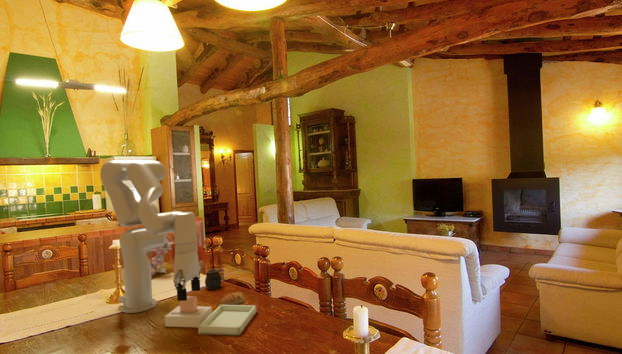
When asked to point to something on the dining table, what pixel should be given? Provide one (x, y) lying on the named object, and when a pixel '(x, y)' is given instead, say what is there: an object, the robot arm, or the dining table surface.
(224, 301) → the pastry
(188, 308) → the tan flat block
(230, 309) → the tray
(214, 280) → the mate gourd
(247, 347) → the dining table surface
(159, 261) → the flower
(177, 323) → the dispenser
